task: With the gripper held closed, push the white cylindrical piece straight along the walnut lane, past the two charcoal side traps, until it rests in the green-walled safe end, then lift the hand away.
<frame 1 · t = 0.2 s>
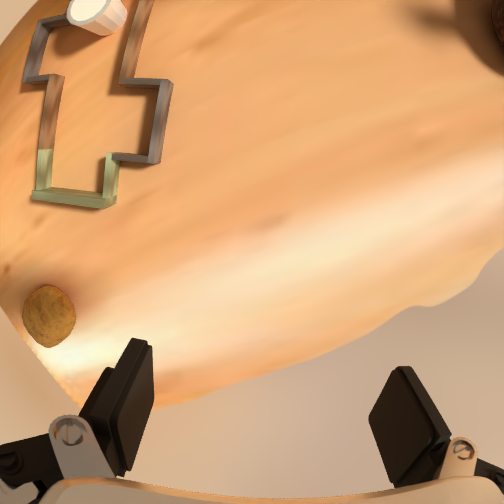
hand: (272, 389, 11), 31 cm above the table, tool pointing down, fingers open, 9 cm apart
potato: (58, 305, 45), on the table
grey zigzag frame: (92, 88, 34), on the table
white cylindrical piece: (110, 20, 31), on the table
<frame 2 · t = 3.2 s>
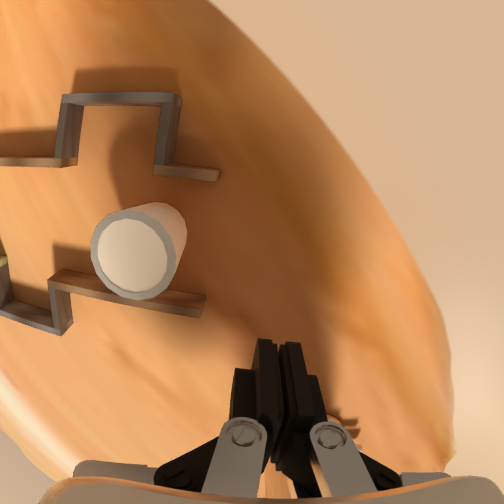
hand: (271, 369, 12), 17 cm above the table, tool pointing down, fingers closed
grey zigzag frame: (59, 218, 27), on the table
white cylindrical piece: (158, 231, 28), on the table
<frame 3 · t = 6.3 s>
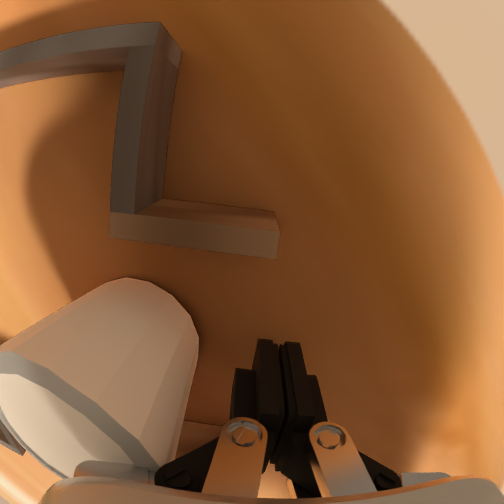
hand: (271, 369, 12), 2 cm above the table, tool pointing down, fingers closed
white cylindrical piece: (141, 333, 13), on the table, touching gripper
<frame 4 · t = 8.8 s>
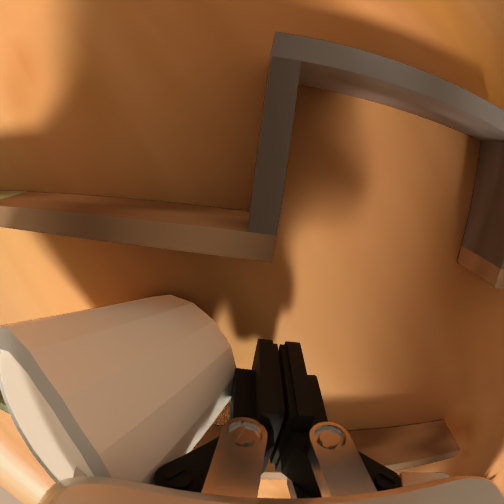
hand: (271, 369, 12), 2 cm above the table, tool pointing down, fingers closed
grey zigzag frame: (205, 347, 13), on the table
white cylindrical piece: (180, 357, 12), point 1 cm above the table, touching gripper
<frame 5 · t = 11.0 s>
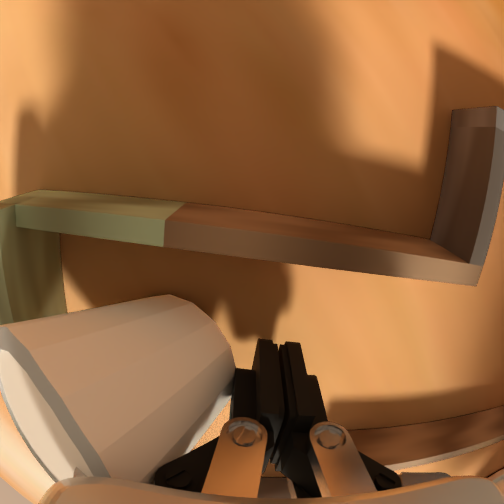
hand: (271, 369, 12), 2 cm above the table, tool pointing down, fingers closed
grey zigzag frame: (367, 360, 14), on the table
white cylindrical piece: (179, 357, 12), point 1 cm above the table, touching gripper
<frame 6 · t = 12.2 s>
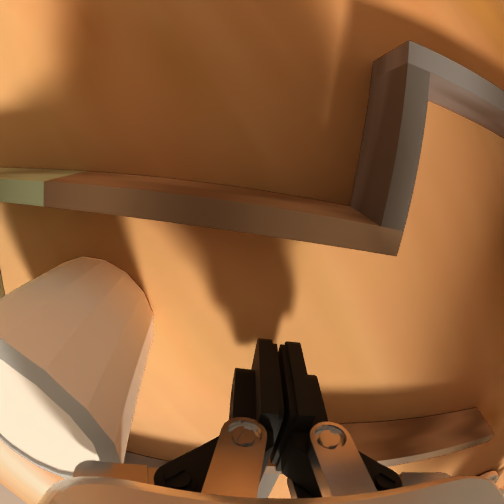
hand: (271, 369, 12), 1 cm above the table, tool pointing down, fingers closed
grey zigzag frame: (286, 343, 13), on the table
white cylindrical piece: (99, 312, 13), on the table
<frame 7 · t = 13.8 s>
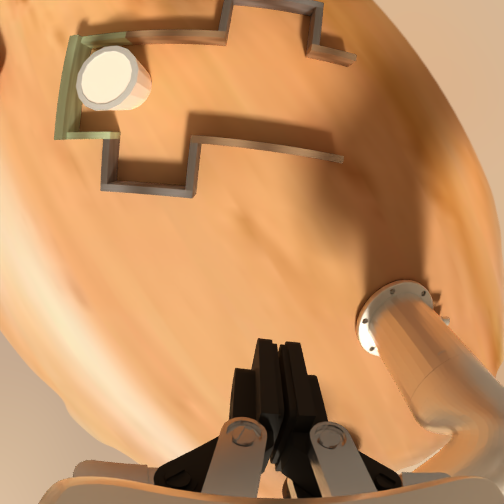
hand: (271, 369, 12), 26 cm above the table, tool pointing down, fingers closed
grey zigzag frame: (201, 88, 31), on the table
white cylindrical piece: (129, 87, 30), on the table
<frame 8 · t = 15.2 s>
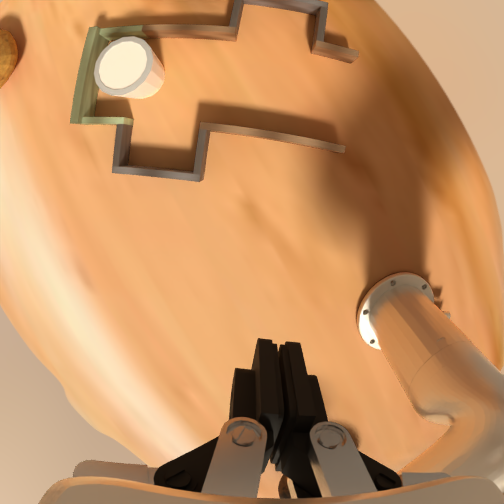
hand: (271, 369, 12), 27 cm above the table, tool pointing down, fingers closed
potato: (7, 62, 29), on the table
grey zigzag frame: (211, 80, 32), on the table
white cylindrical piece: (144, 78, 32), on the table
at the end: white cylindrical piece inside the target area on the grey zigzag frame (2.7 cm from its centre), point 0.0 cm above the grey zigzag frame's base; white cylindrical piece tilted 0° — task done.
